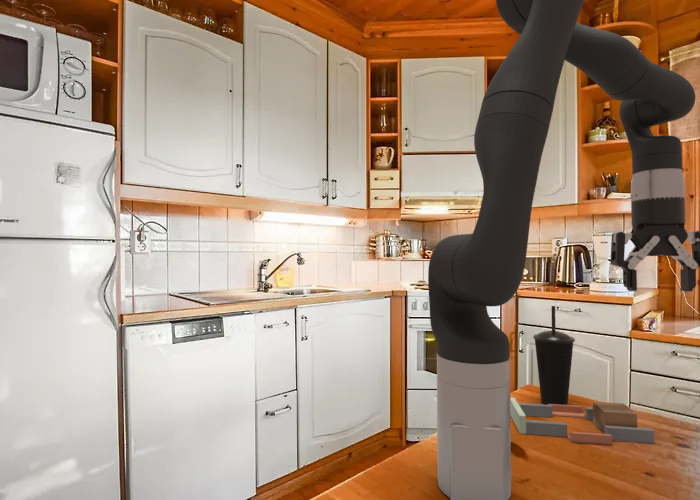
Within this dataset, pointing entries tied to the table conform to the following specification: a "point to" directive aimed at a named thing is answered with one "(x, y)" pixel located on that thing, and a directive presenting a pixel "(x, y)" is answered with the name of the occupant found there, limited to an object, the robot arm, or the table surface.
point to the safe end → (518, 415)
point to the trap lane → (580, 437)
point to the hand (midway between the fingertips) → (659, 290)
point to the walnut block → (613, 415)
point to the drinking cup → (554, 364)
